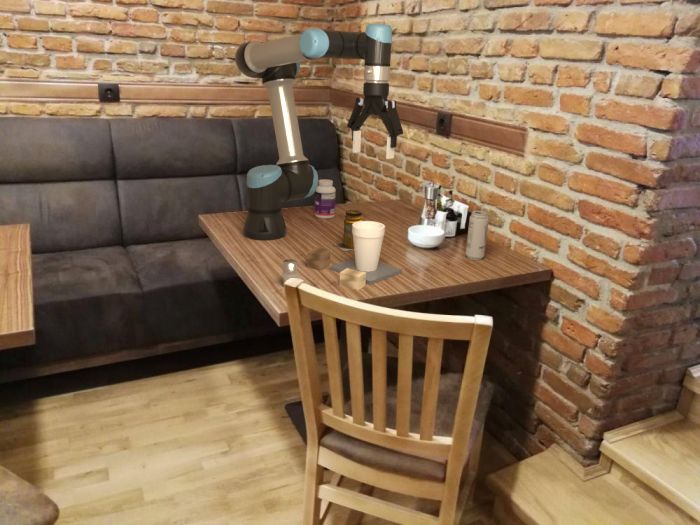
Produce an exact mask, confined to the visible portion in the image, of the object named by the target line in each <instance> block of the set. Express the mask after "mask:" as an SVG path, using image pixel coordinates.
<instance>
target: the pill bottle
mask: <svg viewBox="0 0 700 525" xmlns="http://www.w3.org/2000/svg"><path fill="white" fill-rule="evenodd" d="M333 184H334V181H333V180H332V179H326V178H325V179H318V186H317V189H316V190H315V193H314V216H315V217H316V218H318V219H323V220H327V219H333V218H334V217H335V215H336V193H337V192H336V191H337V190H336V187H334V186H333Z"/></svg>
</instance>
